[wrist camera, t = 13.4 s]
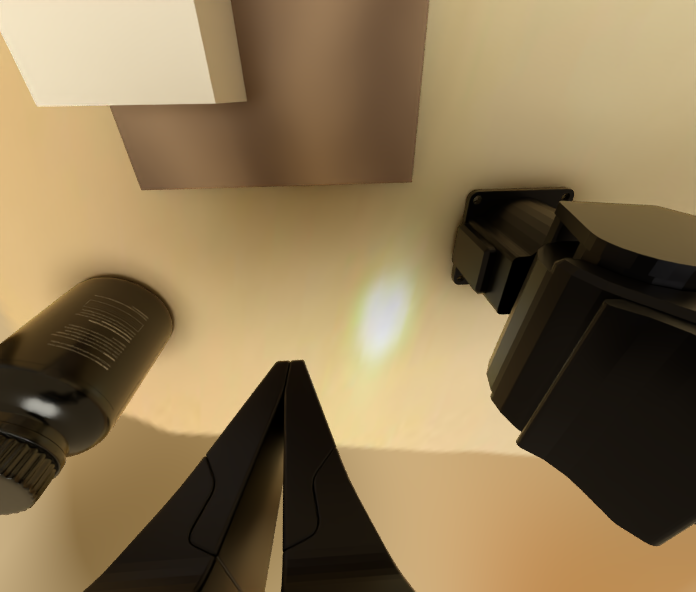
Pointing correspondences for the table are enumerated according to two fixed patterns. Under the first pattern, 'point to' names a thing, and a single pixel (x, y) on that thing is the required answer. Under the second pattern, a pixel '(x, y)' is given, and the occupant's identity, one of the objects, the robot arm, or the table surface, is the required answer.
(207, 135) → the base plate
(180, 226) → the table surface
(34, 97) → the white carton
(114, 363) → the supplement bottle
